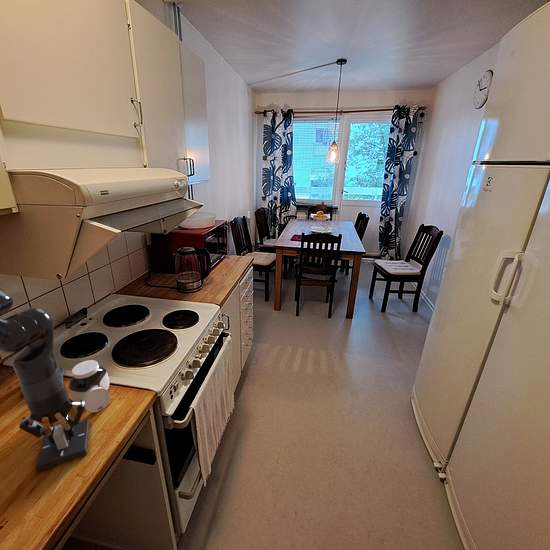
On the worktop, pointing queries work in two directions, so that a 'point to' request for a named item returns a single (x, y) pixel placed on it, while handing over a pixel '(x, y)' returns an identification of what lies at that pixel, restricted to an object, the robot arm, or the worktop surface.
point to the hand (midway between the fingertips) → (63, 439)
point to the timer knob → (60, 436)
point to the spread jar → (90, 385)
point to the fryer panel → (75, 448)
